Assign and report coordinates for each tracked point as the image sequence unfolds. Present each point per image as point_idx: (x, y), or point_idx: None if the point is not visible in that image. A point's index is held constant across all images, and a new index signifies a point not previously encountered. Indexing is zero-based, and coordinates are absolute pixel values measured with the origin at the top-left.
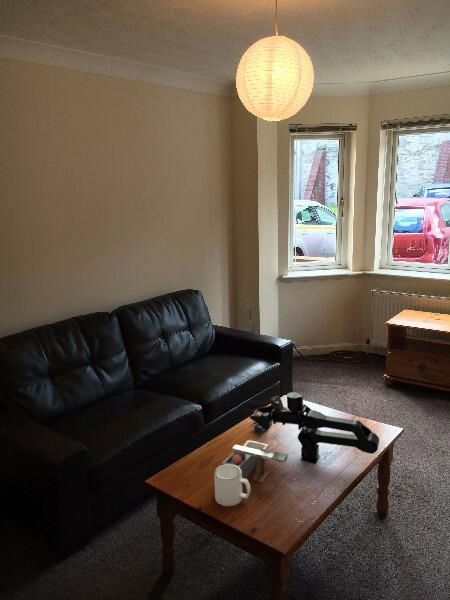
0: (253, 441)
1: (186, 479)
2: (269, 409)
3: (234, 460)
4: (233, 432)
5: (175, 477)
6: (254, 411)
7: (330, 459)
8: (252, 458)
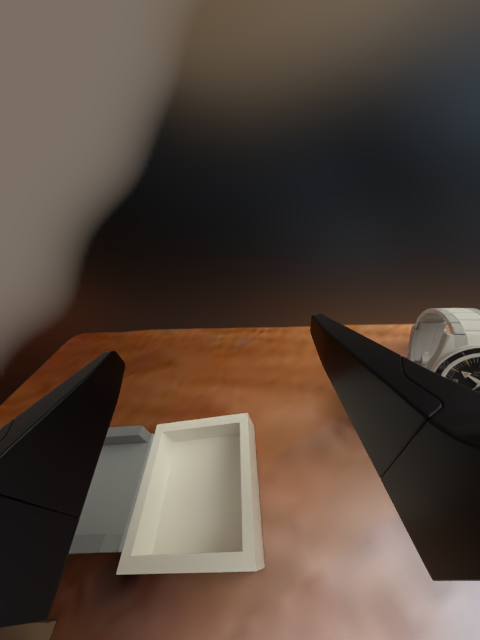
0: (247, 443)
1: (71, 373)
2: (434, 471)
3: None
4: (310, 334)
5: (83, 352)
6: (424, 311)
7: None
8: None
